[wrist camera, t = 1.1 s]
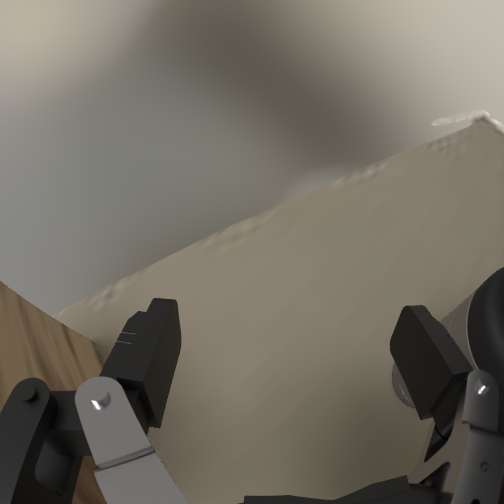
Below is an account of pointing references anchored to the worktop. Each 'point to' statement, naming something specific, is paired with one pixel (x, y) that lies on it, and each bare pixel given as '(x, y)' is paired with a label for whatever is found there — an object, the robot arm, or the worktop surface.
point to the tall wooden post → (87, 484)
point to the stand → (40, 348)
